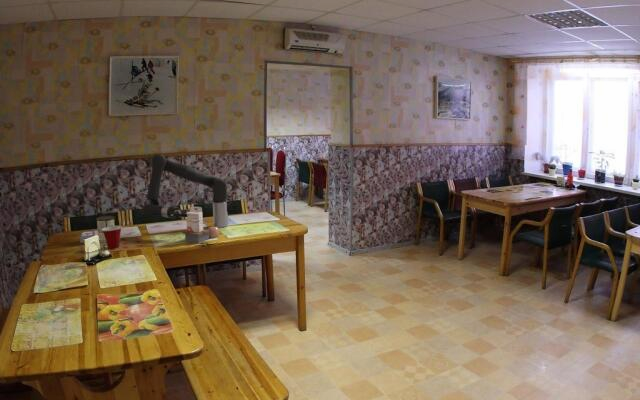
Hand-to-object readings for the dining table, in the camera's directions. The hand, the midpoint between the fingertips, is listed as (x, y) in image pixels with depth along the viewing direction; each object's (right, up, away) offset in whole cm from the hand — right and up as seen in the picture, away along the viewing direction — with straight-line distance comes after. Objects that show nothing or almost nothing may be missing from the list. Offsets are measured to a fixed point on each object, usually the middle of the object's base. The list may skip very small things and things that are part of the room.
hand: (191, 214), depth 283 cm
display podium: (+3, -16, +2) cm, 16 cm away
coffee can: (-52, -16, +2) cm, 55 cm away
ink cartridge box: (+2, -10, 0) cm, 11 cm away
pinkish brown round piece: (+11, -15, +10) cm, 21 cm away
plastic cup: (-41, -19, -14) cm, 48 cm away
